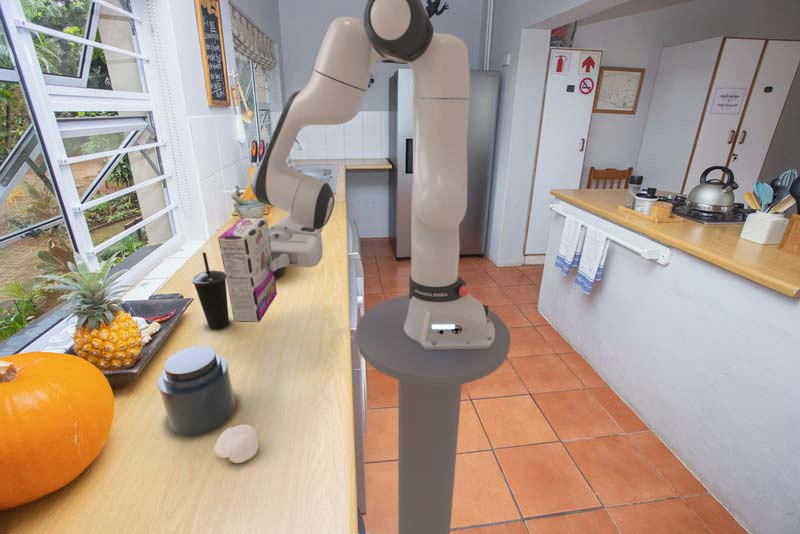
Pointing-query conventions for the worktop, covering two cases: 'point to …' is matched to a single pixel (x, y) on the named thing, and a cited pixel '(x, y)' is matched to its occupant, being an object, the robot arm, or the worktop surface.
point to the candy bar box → (248, 268)
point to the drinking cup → (212, 296)
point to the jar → (196, 391)
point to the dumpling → (237, 443)
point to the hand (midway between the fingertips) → (253, 266)
